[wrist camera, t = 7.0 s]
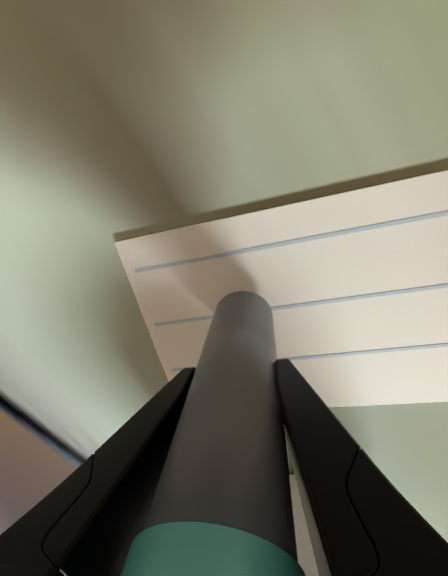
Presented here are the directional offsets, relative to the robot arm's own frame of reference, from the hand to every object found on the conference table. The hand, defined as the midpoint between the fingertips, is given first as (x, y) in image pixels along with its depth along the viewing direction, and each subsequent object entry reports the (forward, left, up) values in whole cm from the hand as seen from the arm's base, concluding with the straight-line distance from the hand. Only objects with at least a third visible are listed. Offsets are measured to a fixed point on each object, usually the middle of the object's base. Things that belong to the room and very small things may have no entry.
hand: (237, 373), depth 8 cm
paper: (-2, +1, -5) cm, 5 cm away
